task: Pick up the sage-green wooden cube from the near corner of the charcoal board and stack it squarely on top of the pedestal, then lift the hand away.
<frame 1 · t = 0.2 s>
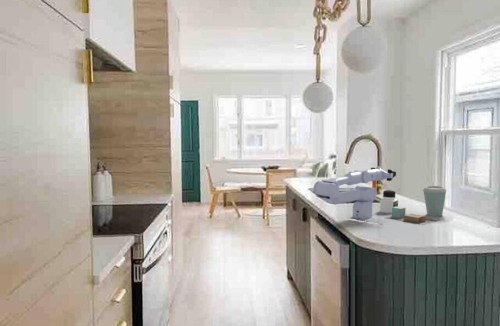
hand: (388, 173, 213), 21 cm above the worktop, tool horizontal, fingers open, 7 cm apart
disposable coffee cup: (433, 216, 208), on the worktop
medicine bottle: (388, 213, 216), on the worktop
stacking base: (414, 223, 193), on the worktop
green cube: (398, 216, 202), point 1 cm above the worktop, touching stacking base
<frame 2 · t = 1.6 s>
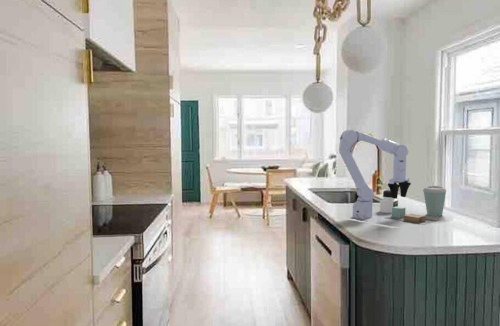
hand: (399, 197, 202), 10 cm above the worktop, tool pointing down, fingers open, 7 cm apart
nothing on the worktop moved.
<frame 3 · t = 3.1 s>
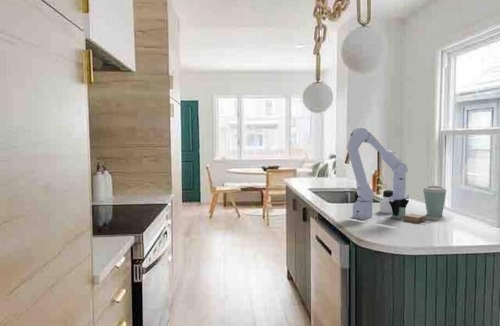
hand: (398, 214, 202), 2 cm above the worktop, tool pointing down, fingers closed on green cube, 4 cm apart
green cube: (398, 216, 202), point 1 cm above the worktop, touching gripper, stacking base
everything else where it was.
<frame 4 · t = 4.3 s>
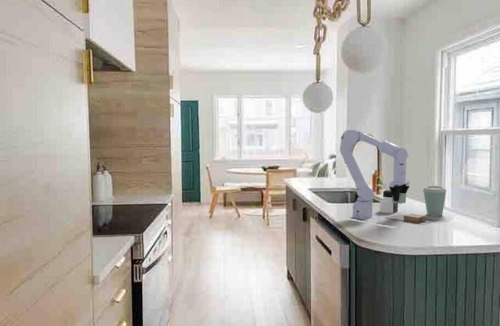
hand: (398, 200, 202), 9 cm above the worktop, tool pointing down, fingers closed on green cube, 4 cm apart
green cube: (398, 202, 202), point 8 cm above the worktop, touching gripper
everything else where it was.
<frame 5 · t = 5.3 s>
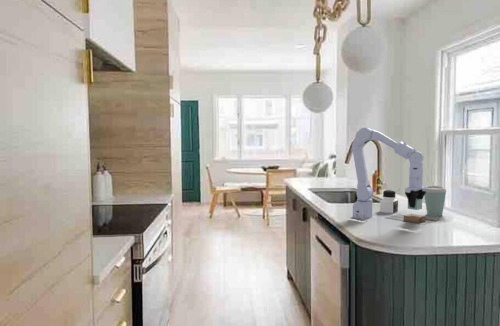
hand: (415, 206, 192), 8 cm above the worktop, tool pointing down, fingers closed on green cube, 4 cm apart
green cube: (414, 208, 192), point 7 cm above the worktop, touching gripper
everything else where it was.
when the fingers open (6 cm above the worktop, at t = 6.1 s): green cube drops 1 cm, resting on stacking base.
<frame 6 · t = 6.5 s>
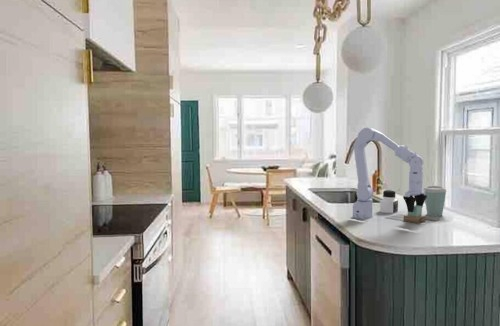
hand: (414, 211, 192), 6 cm above the worktop, tool pointing down, fingers open, 7 cm apart
green cube: (414, 215, 192), point 3 cm above the worktop, touching stacking base
everything else where it was.
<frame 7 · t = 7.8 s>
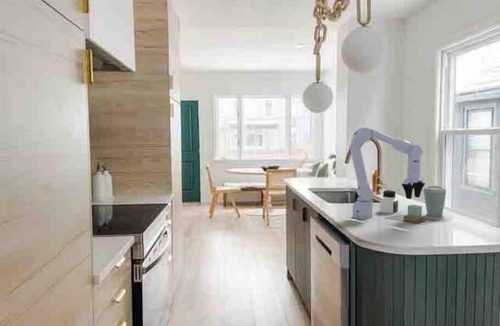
hand: (413, 198, 200), 10 cm above the worktop, tool pointing down, fingers open, 7 cm apart
nothing on the worktop moved.
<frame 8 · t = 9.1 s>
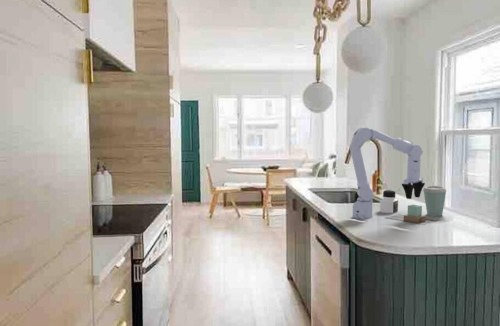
hand: (413, 198, 200), 10 cm above the worktop, tool pointing down, fingers open, 7 cm apart
nothing on the worktop moved.
at the end: green cube 0.1 cm off-centre on the stacking base, point 3.5 cm above the stacking base's base; green cube tilted 0°; the gripper is holding nothing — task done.
